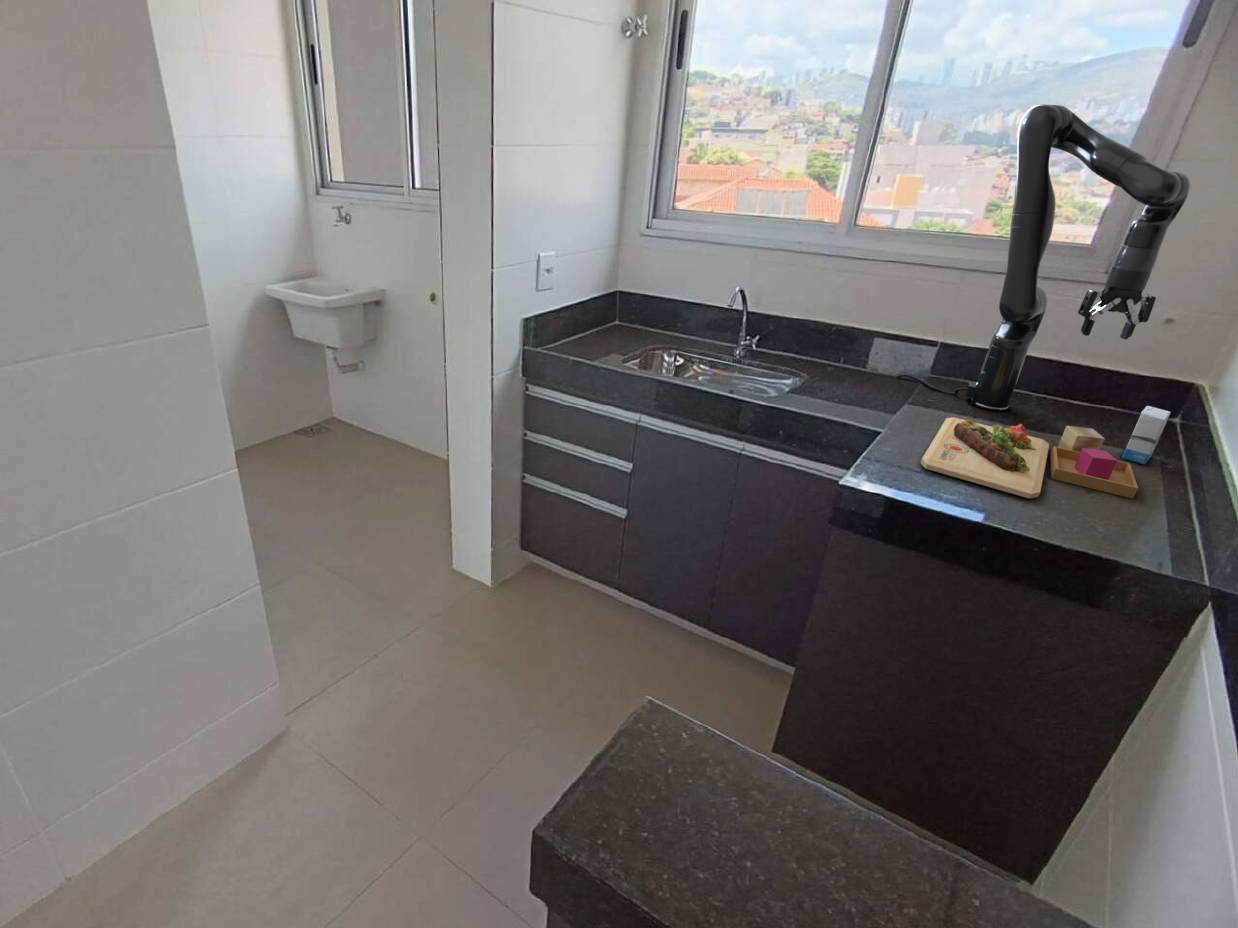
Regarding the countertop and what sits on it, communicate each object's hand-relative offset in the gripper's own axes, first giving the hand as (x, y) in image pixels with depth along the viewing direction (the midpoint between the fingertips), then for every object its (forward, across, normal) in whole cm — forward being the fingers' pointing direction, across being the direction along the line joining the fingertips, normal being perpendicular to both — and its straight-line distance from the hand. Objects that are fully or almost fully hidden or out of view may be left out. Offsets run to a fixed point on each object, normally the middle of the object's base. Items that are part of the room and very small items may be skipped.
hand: (1104, 336), depth 157 cm
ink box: (+26, -13, +9) cm, 31 cm away
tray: (+26, +4, +24) cm, 36 cm away
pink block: (+26, +4, +24) cm, 35 cm away
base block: (+26, +2, +12) cm, 29 cm away
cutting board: (+26, +26, +20) cm, 42 cm away
